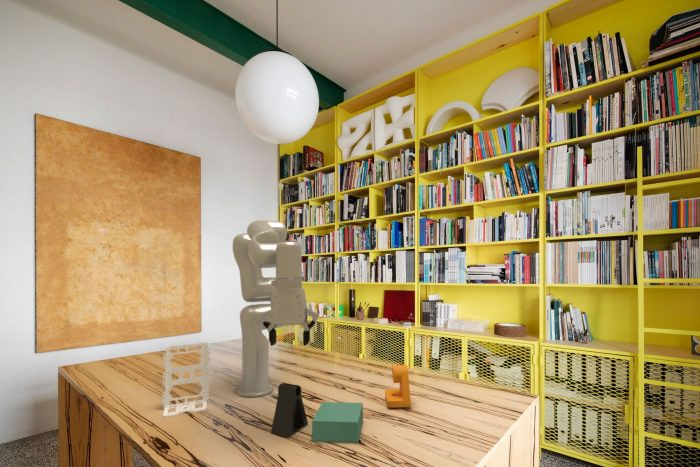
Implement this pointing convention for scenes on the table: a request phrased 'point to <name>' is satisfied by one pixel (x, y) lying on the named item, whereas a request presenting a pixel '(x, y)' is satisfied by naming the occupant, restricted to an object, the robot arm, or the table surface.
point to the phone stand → (289, 411)
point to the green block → (338, 422)
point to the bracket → (399, 395)
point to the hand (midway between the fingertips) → (289, 344)
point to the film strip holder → (185, 381)
